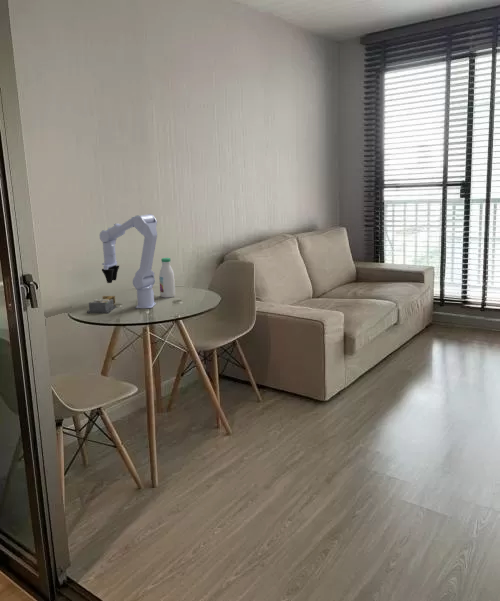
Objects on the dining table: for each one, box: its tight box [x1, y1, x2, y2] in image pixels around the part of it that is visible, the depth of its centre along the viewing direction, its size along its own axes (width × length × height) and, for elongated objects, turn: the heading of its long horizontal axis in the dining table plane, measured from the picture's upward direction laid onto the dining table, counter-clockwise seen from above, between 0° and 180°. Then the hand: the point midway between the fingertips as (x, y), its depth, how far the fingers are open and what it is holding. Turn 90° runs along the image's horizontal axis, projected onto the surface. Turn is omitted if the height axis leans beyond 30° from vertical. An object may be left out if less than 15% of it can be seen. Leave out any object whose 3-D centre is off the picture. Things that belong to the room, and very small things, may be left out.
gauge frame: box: [86, 298, 117, 314], centre depth 255 cm, size 12×10×5 cm
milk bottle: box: [158, 257, 176, 298], centre depth 280 cm, size 8×8×20 cm
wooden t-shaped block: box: [101, 295, 116, 305], centre depth 261 cm, size 10×6×4 cm, turn 176°
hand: (111, 281), depth 269 cm, fingers open, 6 cm apart
